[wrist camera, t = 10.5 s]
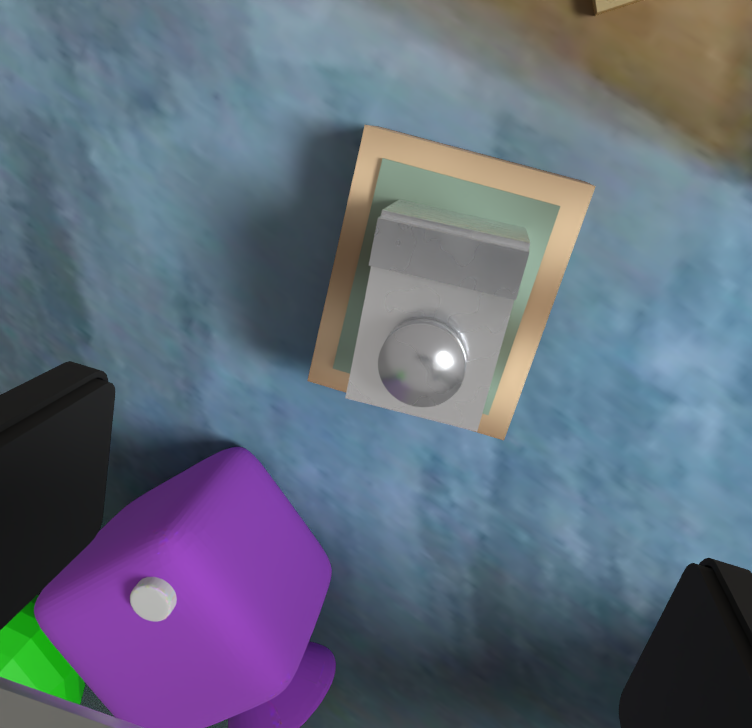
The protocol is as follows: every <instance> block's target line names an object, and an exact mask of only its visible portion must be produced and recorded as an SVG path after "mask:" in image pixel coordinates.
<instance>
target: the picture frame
mask: <svg viewBox="0 0 752 728" xmlns="http://www.w3.org/2000/svg"><path fill="white" fill-rule="evenodd" d="M594 189H595V186H593V185H591V184H589V183H587V182H585V181H581V180H577V179H574V178H570V177H566V176H562V175H559V174H555V173H551V172H547V171H544V170H540V169H536V168H532V167H529V166H525V165H521V164H517V163H514V162H510V161H506V160H502V159H499V158H495V157H491V156H487V155H484V154H480V153H476V152H472V151H469V150H465V149H461V148H457V147H454V146H450V145H446V144H442V143H439V142H435V141H431V140H427V139H424V138H420V137H416V136H412V135H409V134H405V133H401V132H397V131H394V130H390V129H386V128H382V127H379V126H370V125H365V126H364V131H363V135H362V140H361V144H360V149H359V153H358V158H357V162H356V167H355V171H354V176H353V180H352V184H351V189H350V193H349V198H348V202H347V207H346V211H345V216H344V220H343V225H342V229H341V234H340V238H339V242H338V247H337V251H336V256H335V260H334V265H333V269H332V274H331V278H330V283H329V287H328V292H327V296H326V300H325V305H324V309H323V314H322V318H321V323H320V327H319V332H318V336H317V341H316V345H315V350H314V354H313V358H312V363H311V367H310V372H309V376H308V381H310V382H313V383H316V384H320V385H323V386H326V387H329V388H333V389H336V390H339V391H343V392H347V387H348V382H349V377H350V372H351V367H352V361H353V356H354V351H355V346H356V341H357V336H358V331H359V326H360V320H361V315H362V310H363V305H364V300H365V295H366V290H367V285H368V279H369V274H370V269H371V266H369V261H370V256H371V250H372V245H373V240H374V235H375V230H376V225H377V220H378V217H380V216H381V213H382V210H383V209H384V208H386V207H388V206H389V205H391V204H393V203H394V202H396V201H398V200H403V201H408V202H412V203H417V204H421V205H426V206H430V207H435V208H439V209H444V210H448V211H453V212H457V213H462V214H466V215H471V216H475V217H480V218H484V219H489V220H493V221H498V222H502V223H507V224H511V225H516V226H520V227H525V228H526V231H527V234H528V237H529V240H530V247H529V252H530V253H529V256H528V260H527V263H526V267H525V270H524V274H523V277H522V281H521V284H520V288H519V291H518V295H517V299H516V300H514V303H513V307H512V310H511V314H510V317H509V321H508V325H507V328H506V332H505V335H504V339H503V342H502V346H501V349H500V353H499V356H498V360H497V363H496V367H495V371H494V374H493V378H492V381H491V385H490V388H489V392H488V395H487V399H486V402H485V406H484V409H483V413H482V417H481V420H480V424H479V427H478V431H477V432H478V433H481V434H484V435H488V436H491V437H494V438H498V439H501V440H504V439H505V436H506V433H507V430H508V427H509V425H510V422H511V419H512V416H513V414H514V411H515V408H516V405H517V402H518V400H519V397H520V394H521V391H522V389H523V386H524V383H525V380H526V378H527V375H528V372H529V369H530V366H531V364H532V361H533V358H534V355H535V353H536V350H537V347H538V344H539V342H540V339H541V336H542V333H543V330H544V328H545V325H546V322H547V319H548V317H549V314H550V311H551V308H552V305H553V303H554V300H555V297H556V294H557V292H558V289H559V286H560V283H561V281H562V278H563V275H564V272H565V269H566V267H567V264H568V261H569V258H570V256H571V253H572V250H573V247H574V245H575V242H576V239H577V236H578V233H579V231H580V228H581V225H582V222H583V220H584V217H585V214H586V211H587V208H588V206H589V203H590V200H591V197H592V195H593V192H594ZM471 431H472V430H471ZM475 432H476V431H475Z"/></svg>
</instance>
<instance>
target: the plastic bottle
mask: <svg viewBox="0 0 752 728" xmlns="http://www.w3.org/2000/svg"><path fill="white" fill-rule="evenodd" d="M38 597H39V595H36V596H35V597H34V598H33V599H32V600H31V601H30V602H29V603H28V604H27V605H26V606H25V607H24V608H23V609H22V610H21V611H20V612H19V613H18V614H17V615H16V616H15V617H14V618H13V619H12V620H11V621H10V622H9V623H8V624H7V625H6V626H5V627H3V628H2V629H1V630H0V677H2V678H5V679H8V680H11V681H13V682H16V683H19V684H22V685H25V686H28V687H30V688H33V689H36V690H39V691H42V692H45V693H47V694H50V695H53V696H56V697H59V698H62V699H64V700H67V701H70V702H73V703H76V704H79V705H80V703H81V699H82V696H83V692H84V688H85V682H84V680H83V679H82V678H81V677H80V676H79V675H78V673H77V672H76V671H75V670H74V669H73V668H72V666H71V665H70V664H69V663H68V662H67V661H66V659H65V658H64V657H63V656H62V655H61V653H60V652H59V651H58V650H57V649H56V647H55V646H54V645H53V644H52V643H51V641H50V640H49V639H48V637H47V636H46V635H45V633H44V632H43V631H42V629H41V628H40V626H39V624H38V622H37V620H36V618H35V614H34V606H35V603H36V600H37V598H38Z"/></svg>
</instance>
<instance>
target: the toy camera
mask: <svg viewBox="0 0 752 728" xmlns="http://www.w3.org/2000/svg"><path fill="white" fill-rule="evenodd" d="M331 572H332V570H331V564H330V561H329V559H328V557H327V555H326V553H325V551H324V550H323V548H322V547H321V545H320V544H319V542H318V541H317V539H316V538H315V537H314V535H313V534H312V532H311V531H310V529H309V528H308V527H307V525H306V524H305V523H304V521H303V520H302V518H301V517H300V516H299V514H298V513H297V512H296V510H295V509H294V507H293V506H292V505H291V503H290V502H289V501H288V499H287V498H286V496H285V495H284V494H283V492H282V491H281V490H280V488H279V487H278V485H277V484H276V483H275V481H274V480H273V479H272V477H271V476H270V475H269V473H268V472H267V471H266V469H265V468H264V467H263V465H262V464H261V463H260V462H259V461H258V459H257V458H256V457H255V456H254V455H253V454H252V453H251V452H250V451H248V450H247V449H245V448H242V447H233V448H228V449H225V450H222V451H220V452H218V453H216V454H214V455H212V456H210V457H208V458H206V459H204V460H202V461H201V462H199V463H197V464H195V465H194V466H192V467H190V468H188V469H187V470H185V471H183V472H181V473H180V474H178V475H176V476H174V477H173V478H171V479H169V480H168V481H166V482H164V483H162V484H161V485H159V486H157V487H155V488H154V489H152V490H150V491H148V492H147V493H145V494H143V495H142V496H140V497H138V498H137V499H135V500H134V501H132V502H131V503H130V504H128V505H127V506H126V507H124V508H123V509H122V510H121V511H120V512H119V513H118V514H117V515H115V516H114V517H113V518H112V519H111V520H110V521H109V522H108V523H107V524H106V525H105V526H104V527H103V528H102V529H101V530H100V531H99V532H98V533H97V535H96V537H95V538H94V539H93V541H92V542H91V543H90V544H89V545H88V546H87V547H86V548H85V549H84V550H83V551H82V552H81V553H80V554H79V555H77V556H76V557H75V558H74V559H73V560H72V561H71V562H70V563H69V564H68V565H67V566H66V567H65V568H64V569H63V570H62V571H61V572H60V573H59V574H58V575H57V576H56V577H55V578H54V579H53V580H52V581H51V582H50V583H49V584H48V585H47V586H46V587H45V588H44V589H43V590H42V592H41V593H40V595H39V597H38V598H37V600H36V603H35V606H34V614H35V618H36V620H37V622H38V624H39V626H40V628H41V629H42V631H43V632H44V633H45V635H46V636H47V637H48V639H49V640H50V641H51V643H52V644H53V645H54V646H55V647H56V649H57V650H58V651H59V652H60V653H61V655H62V656H63V657H64V658H65V659H66V661H67V662H68V663H69V664H70V665H71V666H72V668H73V669H74V670H75V671H76V672H77V673H78V675H79V676H80V677H81V678H82V679H83V680H84V682H85V683H86V684H87V685H88V686H89V687H90V689H91V690H92V691H93V692H94V693H95V694H96V696H97V697H98V698H99V699H100V700H101V701H102V703H103V704H104V705H105V706H106V707H107V708H108V709H109V711H110V712H111V713H112V714H113V715H114V716H115V717H116V718H118V719H121V720H124V721H127V722H130V723H133V724H135V725H138V726H141V727H144V728H205V727H208V726H211V725H214V724H216V723H218V722H221V721H223V720H226V719H228V728H300V727H301V726H302V725H303V724H304V723H305V722H306V721H307V719H308V718H309V717H310V716H311V715H312V714H313V712H314V711H315V710H316V709H317V707H318V706H319V705H320V703H321V702H322V700H323V699H324V697H325V695H326V694H327V692H328V690H329V688H330V686H331V684H332V681H333V678H334V674H335V669H336V662H335V657H334V655H333V653H332V652H331V651H330V650H329V649H328V648H327V647H325V646H323V645H320V644H317V643H314V642H309V640H310V637H311V635H312V632H313V630H314V627H315V625H316V622H317V619H318V616H319V614H320V611H321V608H322V605H323V602H324V599H325V596H326V594H327V590H328V587H329V584H330V580H331Z"/></svg>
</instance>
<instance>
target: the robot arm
mask: <svg viewBox="0 0 752 728" xmlns="http://www.w3.org/2000/svg"><path fill="white" fill-rule="evenodd" d="M114 401H115V387H114V385H113V384H112V383H110V382H108V378H107V375H106V374H105V372H104V371H100V370H97V369H94V368H91V367H87V366H84V365H81V364H78V363H74V362H70V361H69V362H66V363H63V364H61V365H59V366H57V367H55V368H53V369H51V370H49V371H47V372H45V373H43V374H41V375H39V376H37V377H35V378H33V379H31V380H29V381H27V382H25V383H23V384H21V385H19V386H17V387H15V388H13V389H11V390H9V391H7V392H6V393H4V394H2V395H0V630H1V629H2V628H3V627H5V626H6V625H7V624H8V623H9V622H10V621H11V620H12V619H13V618H14V617H15V616H16V615H17V614H18V613H19V612H20V611H21V610H22V609H23V608H24V607H25V606H26V605H27V604H28V603H29V602H30V601H31V600H32V599H33V598H34V597H35V596H36V595H37V594H38V593H39V592H40V591H42V590H43V589H44V588H45V587H46V586H47V585H48V584H49V583H50V582H51V581H52V580H53V579H54V578H55V577H56V576H57V575H58V574H59V573H60V572H61V571H62V570H63V569H64V568H65V567H66V566H67V565H68V564H69V563H70V562H71V561H72V560H73V559H74V558H75V557H76V556H77V555H79V554H80V553H81V552H82V551H83V550H84V549H85V548H86V547H87V546H88V545H89V544H90V543H91V542H92V541H93V539H94V538H95V537H96V535H97V533H98V531H99V529H100V527H101V524H102V519H103V510H104V500H105V491H106V481H107V471H108V461H109V451H110V441H111V431H112V421H113V411H114ZM619 718H620V723H621V728H752V573H751V572H750V571H749V570H746V569H744V568H740V567H737V566H734V565H731V564H727V563H724V562H721V561H718V560H714V559H711V558H706V559H704V560H703V561H702V562H700V564H699V565H698V564H695V563H692V564H689V565H688V566H687V567H686V569H685V570H684V572H683V574H682V576H681V578H680V580H679V582H678V584H677V586H676V588H675V590H674V592H673V594H672V596H671V598H670V600H669V601H668V603H667V605H666V607H665V609H664V611H663V613H662V615H661V617H660V619H659V621H658V623H657V625H656V627H655V629H654V631H653V633H652V635H651V637H650V639H649V641H648V643H647V644H646V646H645V648H644V650H643V652H642V654H641V656H640V658H639V660H638V662H637V664H636V666H635V668H634V670H633V672H632V674H631V676H630V678H629V680H628V682H627V684H626V686H625V688H624V689H623V692H622V694H621V698H620V704H619ZM0 728H144V727H141V726H138V725H135V724H133V723H130V722H127V721H124V720H121V719H118V718H116V717H113V716H110V715H107V714H104V713H101V712H99V711H96V710H93V709H90V708H87V707H84V706H82V705H79V704H76V703H73V702H70V701H67V700H64V699H62V698H59V697H56V696H53V695H50V694H47V693H45V692H42V691H39V690H36V689H33V688H30V687H28V686H25V685H22V684H19V683H16V682H13V681H11V680H8V679H5V678H2V677H0Z"/></svg>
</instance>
